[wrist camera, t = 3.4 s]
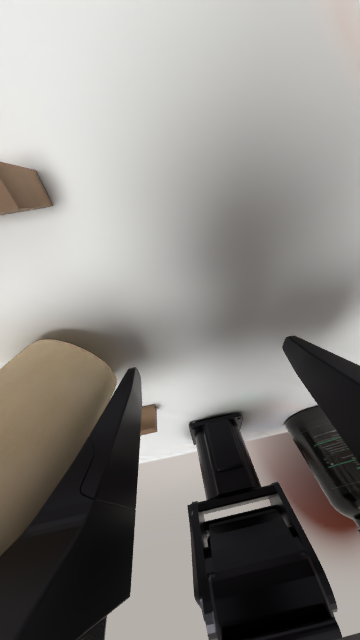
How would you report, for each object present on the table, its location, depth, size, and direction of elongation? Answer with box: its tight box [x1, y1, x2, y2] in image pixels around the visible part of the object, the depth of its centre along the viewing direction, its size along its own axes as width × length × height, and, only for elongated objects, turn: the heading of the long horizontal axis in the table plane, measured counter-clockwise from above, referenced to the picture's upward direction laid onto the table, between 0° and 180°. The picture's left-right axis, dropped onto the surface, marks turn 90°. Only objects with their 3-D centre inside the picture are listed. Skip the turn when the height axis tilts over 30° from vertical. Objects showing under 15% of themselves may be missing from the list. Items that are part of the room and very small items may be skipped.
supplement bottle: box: [286, 406, 360, 535], centre depth 20 cm, size 7×7×12 cm
